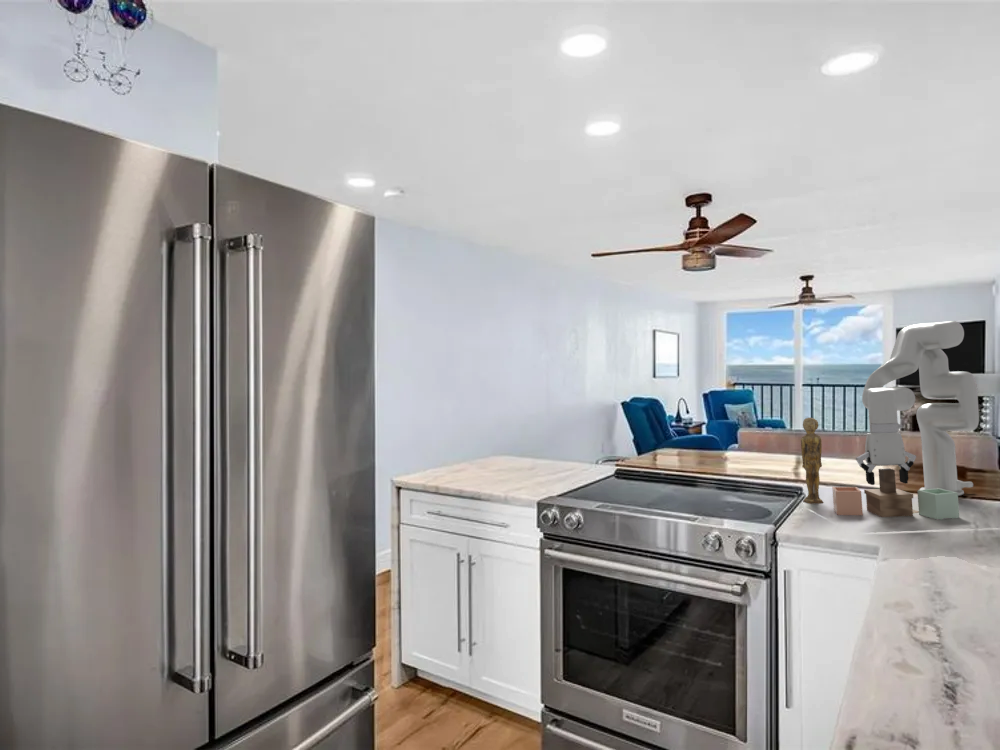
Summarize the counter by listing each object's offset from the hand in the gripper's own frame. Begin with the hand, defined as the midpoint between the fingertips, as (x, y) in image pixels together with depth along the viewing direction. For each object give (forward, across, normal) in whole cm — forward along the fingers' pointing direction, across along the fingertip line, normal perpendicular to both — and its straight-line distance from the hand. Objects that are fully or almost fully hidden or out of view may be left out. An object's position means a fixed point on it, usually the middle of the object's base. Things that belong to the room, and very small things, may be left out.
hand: (887, 483), depth 190 cm
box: (+10, 0, 0) cm, 10 cm away
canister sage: (+10, -11, +6) cm, 16 cm away
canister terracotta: (+10, +11, -3) cm, 15 cm away
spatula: (+10, -6, -6) cm, 13 cm away
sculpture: (+10, +15, -19) cm, 26 cm away
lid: (+4, 0, 0) cm, 4 cm away
